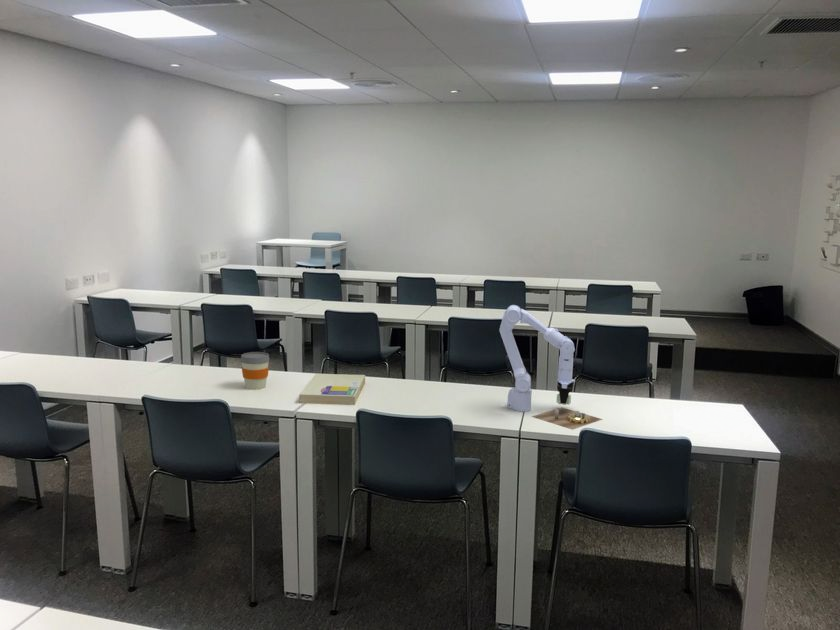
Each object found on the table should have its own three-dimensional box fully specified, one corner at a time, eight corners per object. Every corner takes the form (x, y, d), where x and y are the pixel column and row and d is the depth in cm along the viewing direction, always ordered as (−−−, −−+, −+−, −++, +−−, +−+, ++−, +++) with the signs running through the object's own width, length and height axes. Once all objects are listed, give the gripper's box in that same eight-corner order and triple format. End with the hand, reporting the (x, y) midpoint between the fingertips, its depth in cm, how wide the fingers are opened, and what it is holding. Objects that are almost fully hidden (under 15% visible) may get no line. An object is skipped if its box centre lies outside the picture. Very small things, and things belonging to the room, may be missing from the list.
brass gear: (561, 419, 268) (561, 411, 268) (574, 415, 274) (575, 407, 274) (580, 425, 262) (580, 416, 261) (593, 421, 268) (594, 412, 267)
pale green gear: (553, 402, 279) (554, 394, 278) (562, 400, 282) (562, 392, 282) (564, 405, 274) (565, 398, 274) (573, 403, 278) (573, 395, 278)
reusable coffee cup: (271, 383, 316) (271, 351, 314) (267, 390, 304) (266, 358, 302) (244, 383, 316) (243, 351, 313) (238, 390, 303) (238, 358, 301)
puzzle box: (365, 384, 321) (315, 382, 322) (366, 374, 320) (315, 372, 321) (354, 407, 285) (297, 404, 286) (354, 396, 285) (297, 394, 286)
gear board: (531, 418, 272) (531, 407, 271) (561, 409, 285) (562, 399, 284) (572, 432, 257) (573, 420, 256) (602, 421, 270) (603, 410, 269)
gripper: (575, 373, 268) (573, 407, 270) (575, 365, 282) (573, 397, 284) (557, 372, 270) (555, 405, 272) (558, 364, 284) (556, 395, 286)
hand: (563, 401), depth 278 cm, fingers closed on pale green gear, 6 cm apart
